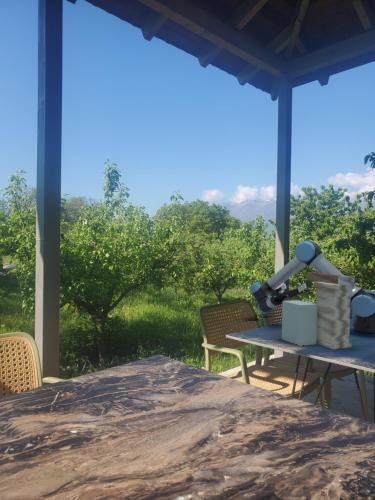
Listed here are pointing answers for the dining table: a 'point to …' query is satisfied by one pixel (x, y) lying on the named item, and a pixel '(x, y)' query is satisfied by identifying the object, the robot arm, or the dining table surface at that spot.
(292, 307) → the block
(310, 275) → the brown grey bar
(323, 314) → the tall stand
